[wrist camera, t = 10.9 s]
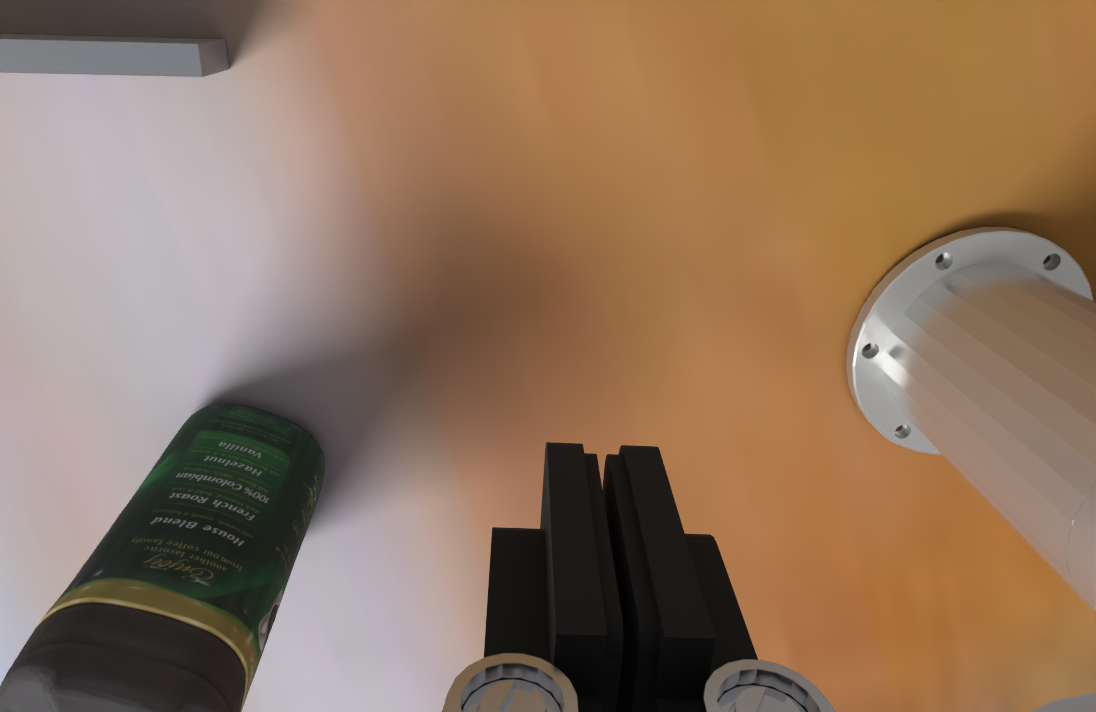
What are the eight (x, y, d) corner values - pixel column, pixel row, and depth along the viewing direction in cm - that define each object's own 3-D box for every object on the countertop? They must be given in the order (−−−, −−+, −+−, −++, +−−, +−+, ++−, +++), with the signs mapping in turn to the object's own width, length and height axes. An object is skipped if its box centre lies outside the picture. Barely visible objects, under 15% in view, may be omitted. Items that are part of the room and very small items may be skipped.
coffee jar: (192, 378, 40) (-25, 657, 23) (344, 428, 42) (244, 722, 25) (149, 525, 44) (-67, 861, 27) (291, 566, 45) (173, 905, 29)
